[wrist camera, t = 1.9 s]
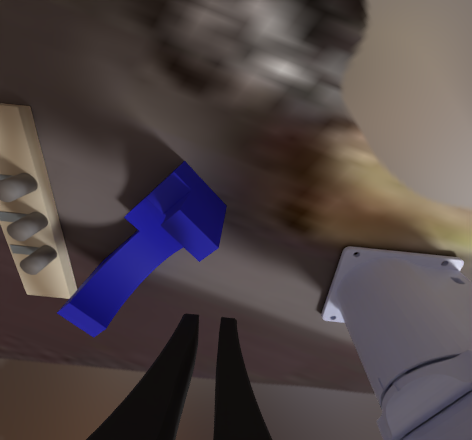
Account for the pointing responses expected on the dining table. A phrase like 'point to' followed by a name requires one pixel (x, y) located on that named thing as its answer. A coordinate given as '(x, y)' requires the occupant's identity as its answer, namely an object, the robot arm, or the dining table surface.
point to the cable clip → (150, 246)
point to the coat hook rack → (31, 208)
